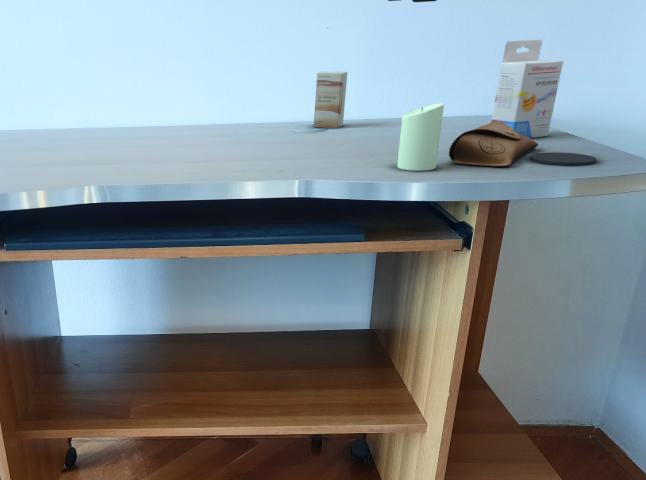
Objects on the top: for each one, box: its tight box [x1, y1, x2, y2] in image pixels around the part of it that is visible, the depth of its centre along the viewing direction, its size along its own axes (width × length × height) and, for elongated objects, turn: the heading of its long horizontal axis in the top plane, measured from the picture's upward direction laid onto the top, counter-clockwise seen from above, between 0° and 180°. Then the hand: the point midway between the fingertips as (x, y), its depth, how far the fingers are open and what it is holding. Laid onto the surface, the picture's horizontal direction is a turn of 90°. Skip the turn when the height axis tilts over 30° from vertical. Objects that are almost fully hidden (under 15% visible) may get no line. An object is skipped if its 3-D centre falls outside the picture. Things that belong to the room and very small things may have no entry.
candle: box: [396, 102, 445, 172], centre depth 85 cm, size 5×5×8 cm
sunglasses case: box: [448, 120, 539, 167], centre depth 92 cm, size 18×7×7 cm
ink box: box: [491, 39, 564, 139], centre depth 104 cm, size 8×5×15 cm, turn 114°
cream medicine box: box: [313, 70, 348, 129], centre depth 125 cm, size 5×4×10 cm
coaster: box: [529, 151, 597, 167], centre depth 88 cm, size 8×8×1 cm
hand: (413, 0), depth 79 cm, fingers open, 9 cm apart
